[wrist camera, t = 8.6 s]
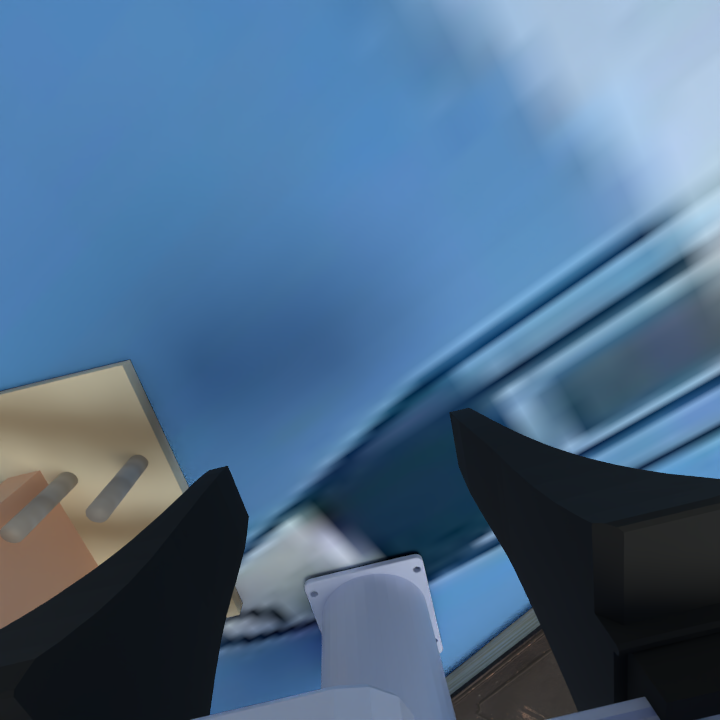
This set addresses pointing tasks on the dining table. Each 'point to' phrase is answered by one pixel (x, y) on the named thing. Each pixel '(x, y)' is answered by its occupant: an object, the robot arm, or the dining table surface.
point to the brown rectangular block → (37, 552)
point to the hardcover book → (511, 678)
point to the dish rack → (91, 457)
